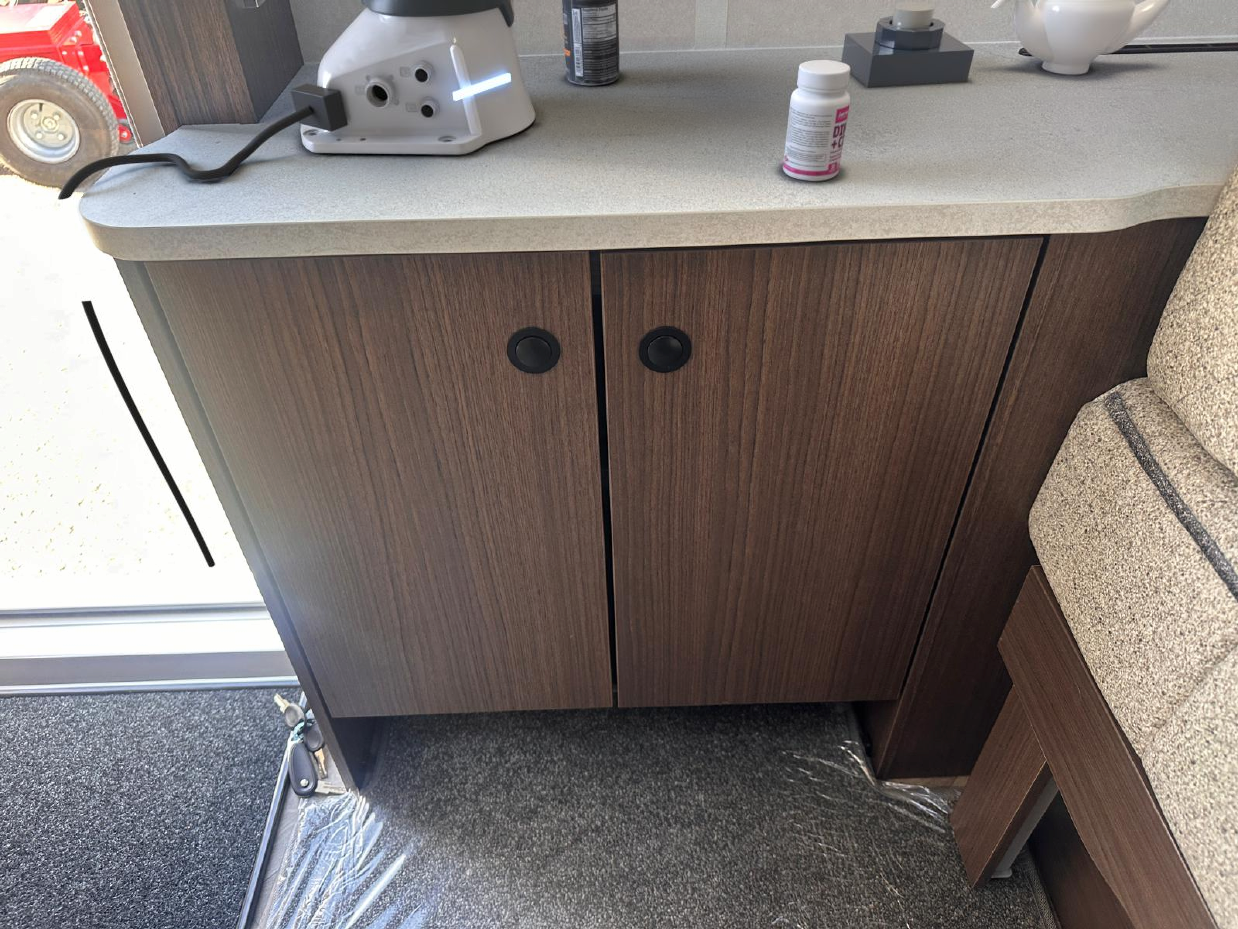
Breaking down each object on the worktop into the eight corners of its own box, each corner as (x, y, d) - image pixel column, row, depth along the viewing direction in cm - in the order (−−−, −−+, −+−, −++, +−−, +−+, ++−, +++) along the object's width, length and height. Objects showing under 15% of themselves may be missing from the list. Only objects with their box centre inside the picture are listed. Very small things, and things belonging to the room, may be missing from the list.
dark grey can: (574, 69, 96) (568, -45, 88) (624, 71, 95) (623, -44, 87) (560, 85, 91) (552, -34, 84) (613, 87, 90) (610, -33, 83)
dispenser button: (899, 32, 88) (903, 11, 86) (885, 23, 91) (889, 2, 89) (936, 31, 88) (940, 9, 87) (921, 21, 91) (925, 0, 90)
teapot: (960, 58, 96) (982, -35, 90) (1134, 54, 96) (1167, -39, 90) (990, 83, 89) (1015, -16, 83) (1178, 79, 89) (1217, -20, 83)
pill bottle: (838, 184, 69) (855, 76, 64) (780, 180, 70) (792, 73, 65) (839, 162, 73) (855, 58, 67) (783, 159, 74) (795, 56, 68)
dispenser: (867, 87, 89) (875, 36, 85) (840, 63, 95) (847, 15, 92) (967, 82, 89) (979, 30, 86) (933, 58, 96) (943, 10, 93)
